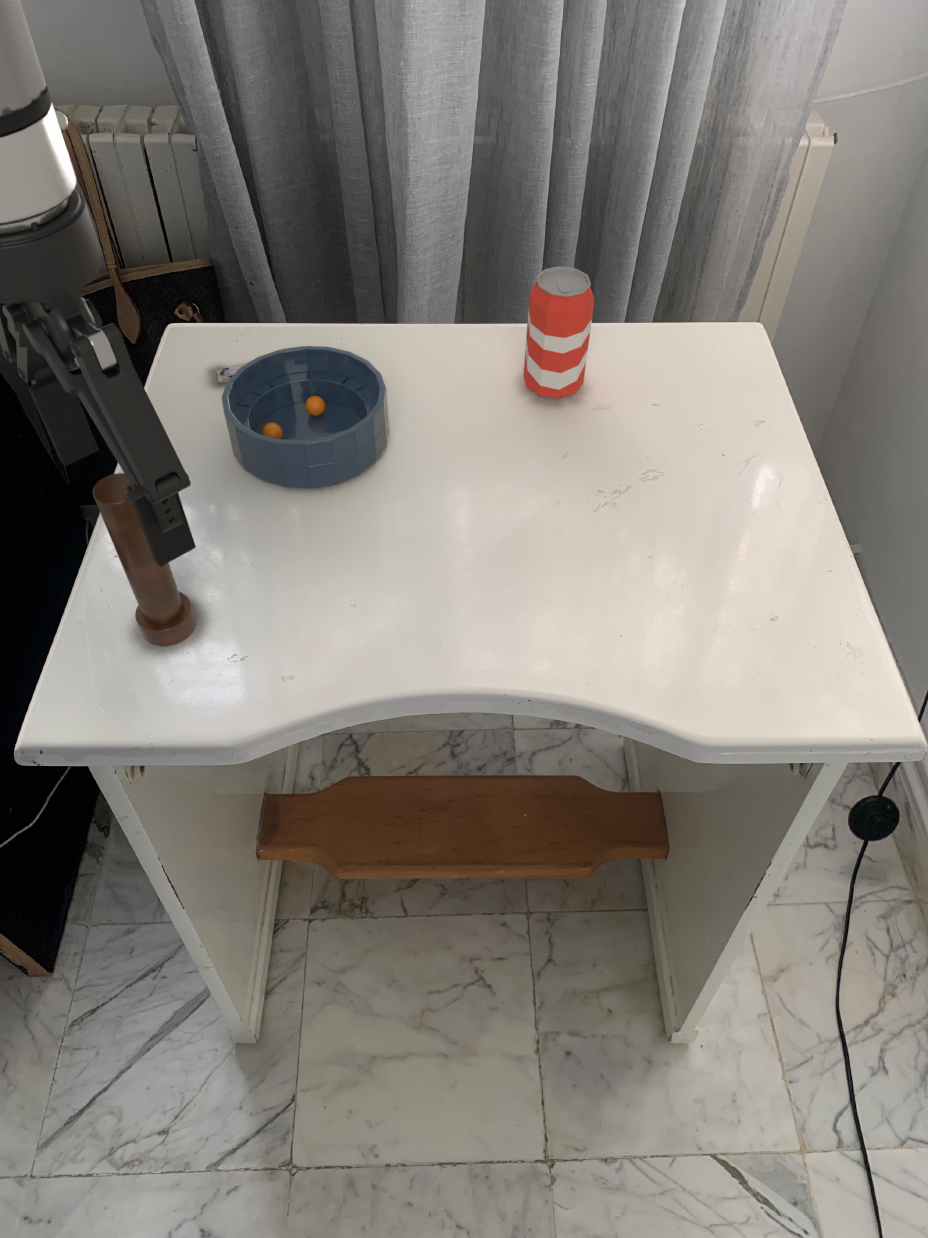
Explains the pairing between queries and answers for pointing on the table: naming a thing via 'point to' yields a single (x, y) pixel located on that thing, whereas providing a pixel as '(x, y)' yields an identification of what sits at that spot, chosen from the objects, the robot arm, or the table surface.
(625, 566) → the table surface
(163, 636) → the brown cylinder
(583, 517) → the table surface
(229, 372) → the granola bar
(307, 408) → the bead
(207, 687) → the table surface
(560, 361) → the beverage can
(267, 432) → the bead
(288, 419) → the bowl
